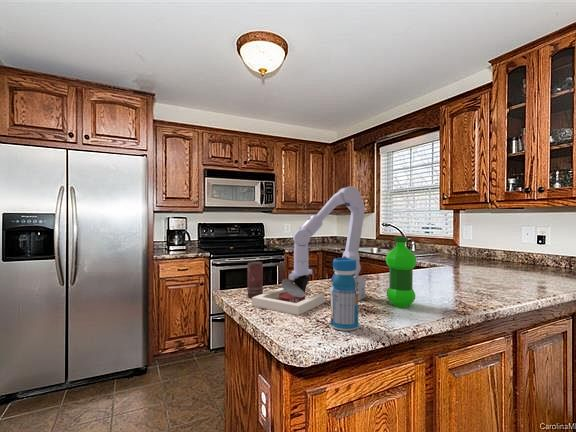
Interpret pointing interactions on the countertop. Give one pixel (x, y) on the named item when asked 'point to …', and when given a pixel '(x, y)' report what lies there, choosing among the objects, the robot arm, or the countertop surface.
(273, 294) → the notched board
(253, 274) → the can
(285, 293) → the canned food
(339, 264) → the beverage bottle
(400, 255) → the plastic bottle
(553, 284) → the countertop surface
